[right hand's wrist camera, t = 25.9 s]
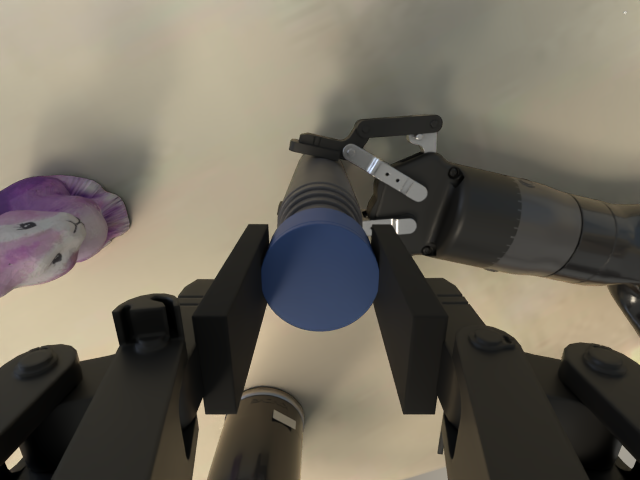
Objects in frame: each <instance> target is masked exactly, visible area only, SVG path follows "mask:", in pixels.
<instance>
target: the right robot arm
mask: <svg viewBox="0 0 640 480" xmlns="http://www.w3.org/2000/svg"><path fill="white" fill-rule="evenodd" d="M268 246H269V231H268V224H248V226H247V228H246V229H245V231H244V233H243V234H242V236H241V237H240V239H239V241H238V242H237V244H236V245H235V247H234V249H233V250H232V252H231V254H230V255H229V257H228V258H227V260H226V262H225V263H224V265H223V266H222V268H221V270H220V271H219V273H218V275H217V276H216V278H215V279H197V280H196V281H194V282H192V283H191V284H189V285H187V286H186V287H185V288H184V289H183V290H182V292H181V293H180V294H179V296H178V298H176V297H175V296H173V295H169V294H149V295H143V296H139V297H136V298H133V299H130V300H128V301H126V302H124V303H122V304H120V305H119V306H118V307H117V308H116V309H114V310H113V311H112V315H113V319H114V323H115V328H116V332H117V336H118V341H119V345H120V346H119V348H118V350H117V352H116V354H113V355H109V356H105V357H100V358H95V359H90V360H85V361H79V358H78V354H77V351H76V350H75V349H74V348H73V347H72V346H69V345H63V344H58V345H46V346H41V347H40V348H39V347H38V348H34V349H31V350H30V351H28V352H26V353H23V354H21V355H19V356H17V357H15V358H14V359H12V360H11V361H9V362H7V363H6V364H4V365H3V366H2V367H1V368H0V480H192V476H193V468H194V461H195V453H196V446H197V438H198V431H199V427H198V420H197V410H198V408H199V405H200V403H201V401H202V398H203V400H204V407H205V414H237V412H238V408H239V405H240V401H241V397H242V394H243V390H244V386H245V383H246V379H247V375H248V372H249V368H250V364H251V361H252V357H253V353H254V350H255V346H256V342H257V339H258V335H259V331H260V327H261V324H262V320H263V316H264V313H265V309H266V305H267V301H266V299H265V297H264V295H263V292H262V279H261V267H262V263H263V260H264V257H265V254H266V252H267V249H268ZM371 246H372V249H373V252H374V254H375V257H376V260H377V262H378V266H379V283H378V292H377V295H376V297H375V300H374V301H373V305H374V308H375V312H376V316H377V319H378V323H379V327H380V330H381V334H382V338H383V341H384V345H385V349H386V352H387V356H388V360H389V363H390V367H391V371H392V374H393V378H394V382H395V385H396V389H397V393H398V396H399V400H400V404H401V407H402V411H403V414H435V409H436V402H437V396H438V398H439V400H440V403H441V405H442V408H443V410H444V413H443V420H442V426H441V433H440V439H439V446H438V454H443V449H444V453H445V460H446V468H447V475H448V480H640V365H639V364H638V363H636V362H635V361H633V360H632V359H630V358H628V357H627V356H625V355H624V354H622V353H619V352H617V351H615V350H612V349H611V348H609V347H606V346H600V345H598V344H593V343H574V344H569V345H568V346H567V347H566V348H565V349H564V352H563V355H562V359H561V360H559V359H554V358H549V357H544V356H539V355H533V354H530V353H526V352H524V351H523V349H522V347H521V345H520V344H519V343H518V342H517V341H516V339H515V338H514V337H512V336H510V335H509V334H507V333H506V332H504V331H502V330H499V329H497V328H494V327H490V326H486V325H485V324H484V322H483V321H482V320H481V319H480V317H479V316H478V315H477V313H476V312H475V311H474V309H473V308H472V307H471V305H470V304H468V302H467V300H466V299H465V298H464V297H462V294H461V292H460V291H459V290H458V288H457V287H456V286H455V285H453V284H452V283H450V282H448V281H447V280H445V279H444V278H425V277H424V276H423V274H422V273H421V271H420V269H419V268H418V266H417V264H416V263H415V261H414V260H413V258H412V256H411V255H410V253H409V252H408V250H407V248H406V247H405V245H404V243H403V242H402V240H401V239H400V237H399V235H398V234H397V232H396V231H395V229H394V227H393V226H392V224H372V236H371ZM622 445H623V446H624V447H625V448H626V449H627V450H628V451H629V452H630V454H631V455H632V456H633V457H634V458H635V459H636V462H635V465H634V467H633V468H632V469H631V468H629V467H628V466H627V465H626V464H625V463H624V462H623V461H622V460H621V459H620V458H619V457H618V454H619V451H620V449H621V446H622ZM18 447H19V448H20V450H21V453H22V455H23V458H22V459H21V460H20V461H19V462H18V464H17V465H15V466H14V467H13V468H12V469H10V470H9V469H7V466H6V464H5V461H6V460H7V459H8V458H9V457H10V456H11V455H12V454H13V452H14V451H15V450H16V449H17V448H18Z"/></svg>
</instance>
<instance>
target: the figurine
mask: <svg viewBox="0 0 640 480" xmlns="http://www.w3.org/2000/svg"><path fill="white" fill-rule="evenodd" d="M129 225H130V223H129V218H128V215H127V211H126V207H125V205H124V202H123V201H122V200H121V198H120V197H119V196H117V195H116V194H112V193H110V192H107V191H105V190H104V189H103V188H102V186H101V185H100V184H98V183H97V182H95V181H93V180H89V179H86V178H81V177H74V176H65V175H52V176H37V177H30V178H26V179H23V180H20V181H18V182H16V183H14V184H12V185H10V186H8V187H7V188H5V189H3V190H2V191H0V297H2V296H4V295H5V294H7V293H8V292H10V291H11V290H13V289H15V288H18V287H25V286H31V285H38V284H43V283H46V282H50V281H52V280H55V279H57V278H59V277H61V276H63V275H64V274H66V273H67V272H69V271H70V270H71V269H72V268H73V267H74V265H75V263H76V262H82V261H85V260H87V259H89V258H90V257H92V256H94V255H95V254H97V253H98V252H99V251H100V250H101V249H102V248H104V247H105V246H107V245H108V244H109V243H110V242H111V239H112V238H114V237H117V236H120V235H122V234H124V233H125V232H126V231H127V230H128V229H129Z"/></svg>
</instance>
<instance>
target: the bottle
mask: <svg viewBox="0 0 640 480" xmlns="http://www.w3.org/2000/svg"><path fill="white" fill-rule="evenodd" d="M311 208H329V209H334V210H337V211H340V212H342V213H345V214H346V215H348V216H350V217H351V218H353V219H354V220H355V221H356V222H357V223H358V224H359V225H360V226H361V227H362V228H363V221H362V213H361V210H360V207H359V204H358V202H357V199H356V197H355V194H354V192H353V190H352V187H351V185H350V182H349V180H348V177H347V175H346V172H345V170H344V167H343V165H342V162H341V160H340V159H339V162H338V161H333V160H329V159H325V158H320V157H315V156H311V155H307V154H304V155H303V156H302V157H301V159H300V160H299V162H298V165H297V167H296V170H295V172H294V175H293V177H292V180H291V182H290V185H289V187H288V190H287V192H286V195H285V197H284V200H283V202H282V205H281V207H280V210H279V213H278V220H277V221H278V224H277V228H278V227H279V226H280V225H281V224H282V223H283V222H284V221H285V220H286V219H287V218H289V217H290V216H292V215H294V214H296V213H298V212H300V211H303V210H307V209H311Z"/></svg>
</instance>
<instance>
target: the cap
mask: <svg viewBox="0 0 640 480" xmlns="http://www.w3.org/2000/svg"><path fill="white" fill-rule="evenodd" d="M261 279H262V292H263V295H264V297H265V299H266V301H267V303H268V305H269V306H270V307H271V309H272V310H273V311H274V312H275V313H276V314H277V315H278V316H279V317H280V318H281V319H283V320H284V321H286V322H287V323H289V324H291V325H293V326H295V327H298V328H301V329H305V330H309V331H331V330H336V329H339V328H342V327H345V326H347V325H349V324H351V323H353V322H354V321H356V320H357V319H359V318H360V317H361V316H362V315H363V314H364V313H365V312H366V311H367V310H368V309H369V308H370V306H371V305H372V303H373V301H374V300H375V297H376V295H377V292H378V283H379V266H378V262H377V260H376V257H375V254H374V252H373V249H372V246H371V244H370V241H369V238H368V236H367V234H366V232H365V231H364V230H363V228H362V227H361V226H360V225H359V224H358V223H357V222H356V221H355V220H354V219H353V218H351V217H350V216H348V215H346V214H345V213H342V212H340V211H337V210H334V209H329V208H311V209H307V210H303V211H300V212H298V213H296V214H294V215H292V216H290V217H289V218H287V219H286V220H285V221H284V222H283V223H282V224H281V225H280V226H279V227H278V228H277V230H276V231H275V233H274V234H273V236H272V239H271V241H270V244H269V246H268V249H267V252H266V254H265V257H264V260H263V263H262V267H261Z"/></svg>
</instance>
